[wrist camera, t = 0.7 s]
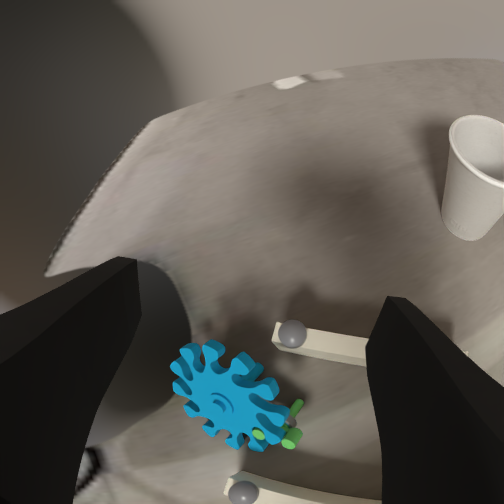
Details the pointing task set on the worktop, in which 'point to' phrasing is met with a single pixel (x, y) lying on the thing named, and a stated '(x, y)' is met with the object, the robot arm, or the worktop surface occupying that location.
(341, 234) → the worktop surface
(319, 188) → the worktop surface
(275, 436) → the gear
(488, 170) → the dixie cup
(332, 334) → the gear housing
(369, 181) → the worktop surface
